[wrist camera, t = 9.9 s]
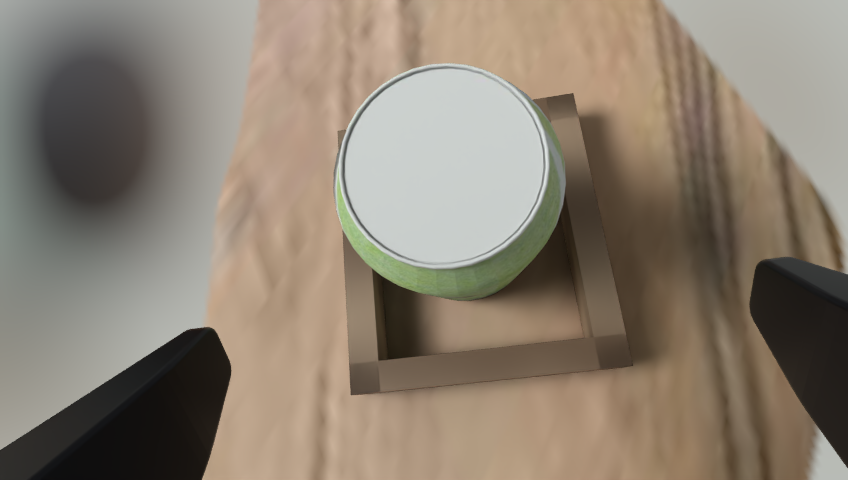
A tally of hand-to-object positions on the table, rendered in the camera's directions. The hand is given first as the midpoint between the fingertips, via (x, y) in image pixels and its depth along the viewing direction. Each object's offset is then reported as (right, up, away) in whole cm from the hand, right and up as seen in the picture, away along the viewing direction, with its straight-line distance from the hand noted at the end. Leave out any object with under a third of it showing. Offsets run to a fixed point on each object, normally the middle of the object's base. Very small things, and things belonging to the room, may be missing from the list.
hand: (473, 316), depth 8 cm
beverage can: (+1, +1, +15) cm, 15 cm away
